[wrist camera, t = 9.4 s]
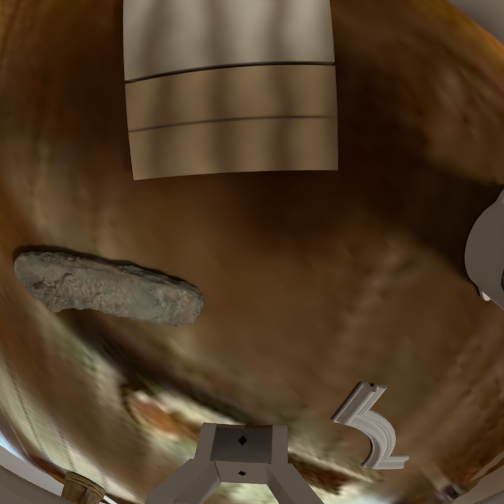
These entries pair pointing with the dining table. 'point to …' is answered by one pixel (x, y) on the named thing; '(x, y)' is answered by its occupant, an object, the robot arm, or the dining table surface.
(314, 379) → the dining table surface
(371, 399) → the molding
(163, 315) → the long grey stone
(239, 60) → the birch plank
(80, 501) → the tankard
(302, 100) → the oak board
